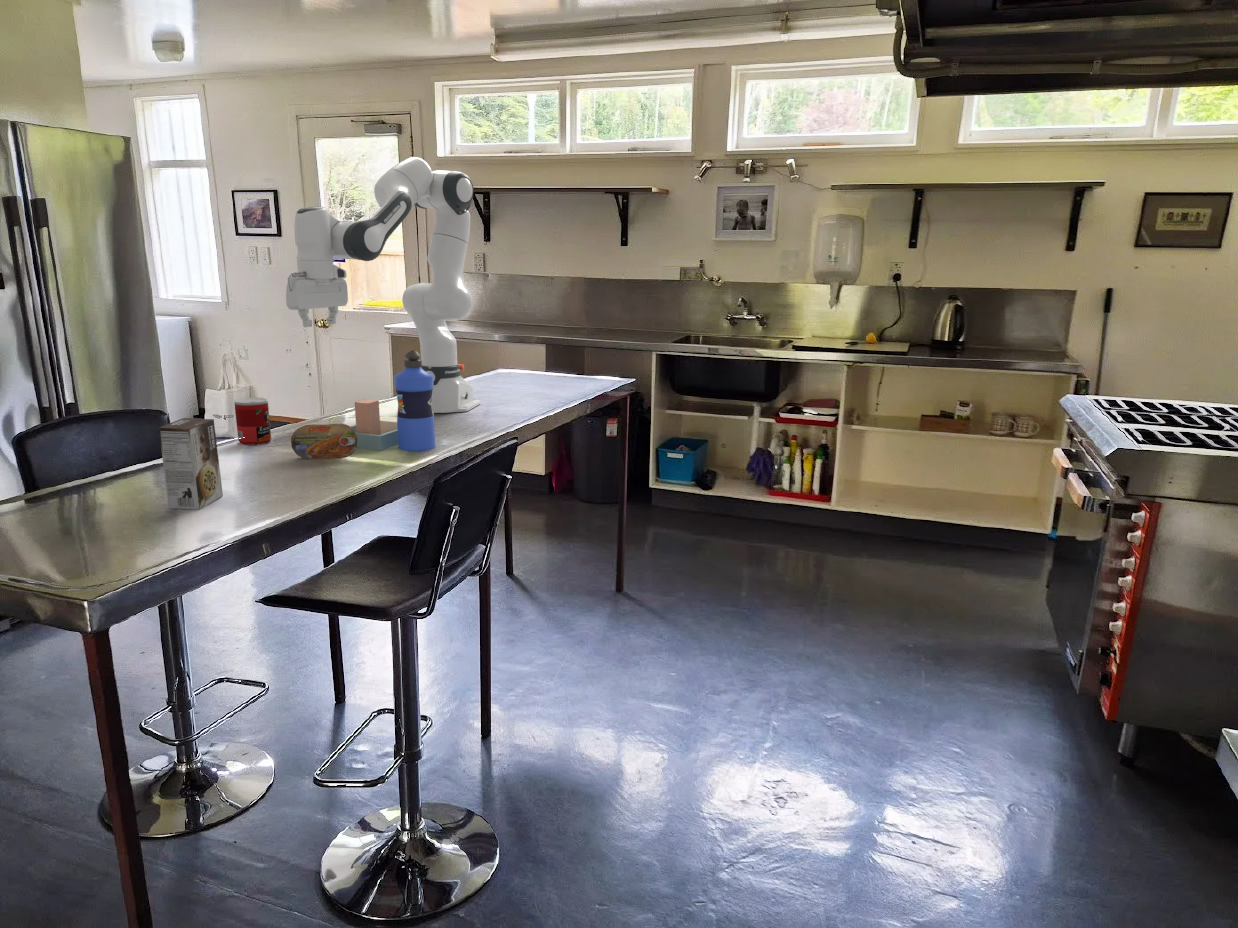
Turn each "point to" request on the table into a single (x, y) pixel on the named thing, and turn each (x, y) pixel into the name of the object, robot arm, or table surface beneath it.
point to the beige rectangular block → (387, 424)
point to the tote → (376, 440)
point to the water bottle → (414, 406)
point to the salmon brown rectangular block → (367, 417)
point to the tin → (324, 441)
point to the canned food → (252, 421)
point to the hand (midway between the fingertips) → (319, 325)
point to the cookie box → (190, 463)
